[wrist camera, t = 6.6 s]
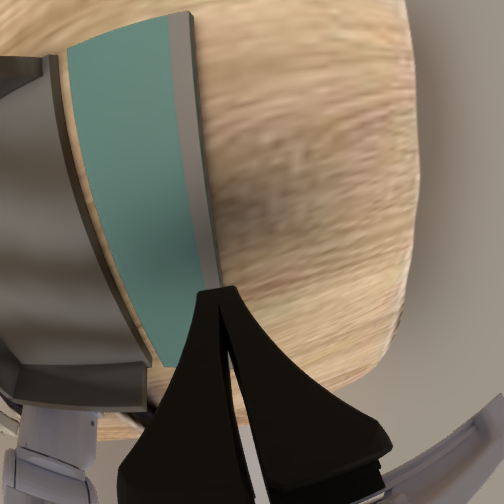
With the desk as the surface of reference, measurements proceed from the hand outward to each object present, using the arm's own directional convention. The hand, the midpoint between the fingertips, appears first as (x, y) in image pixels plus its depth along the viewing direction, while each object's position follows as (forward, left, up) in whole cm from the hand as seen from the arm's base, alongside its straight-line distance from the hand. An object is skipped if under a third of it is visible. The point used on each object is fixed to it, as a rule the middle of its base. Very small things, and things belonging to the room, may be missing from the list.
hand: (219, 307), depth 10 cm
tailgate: (0, +5, -6) cm, 8 cm away
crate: (0, +14, -6) cm, 15 cm away
